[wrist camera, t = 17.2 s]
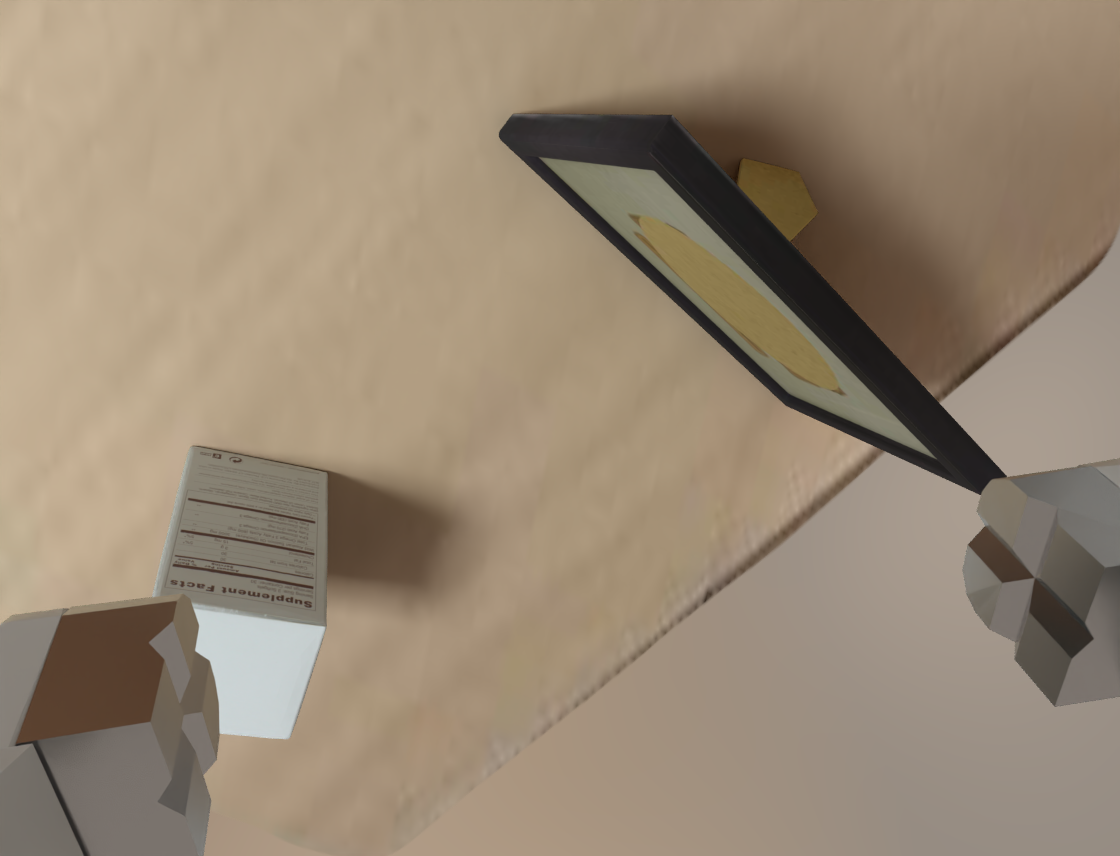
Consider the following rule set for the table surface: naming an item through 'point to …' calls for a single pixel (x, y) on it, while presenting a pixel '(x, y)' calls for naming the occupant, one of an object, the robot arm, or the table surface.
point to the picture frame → (744, 276)
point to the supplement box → (251, 581)
